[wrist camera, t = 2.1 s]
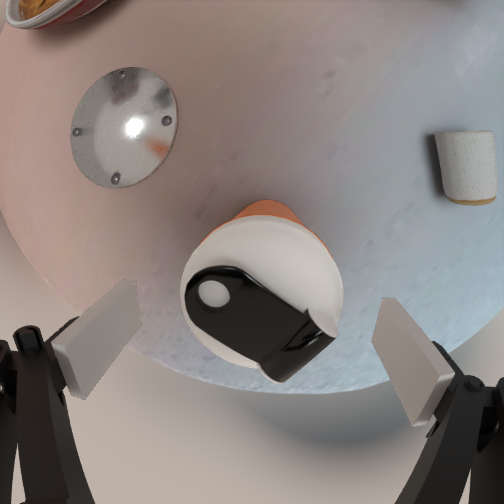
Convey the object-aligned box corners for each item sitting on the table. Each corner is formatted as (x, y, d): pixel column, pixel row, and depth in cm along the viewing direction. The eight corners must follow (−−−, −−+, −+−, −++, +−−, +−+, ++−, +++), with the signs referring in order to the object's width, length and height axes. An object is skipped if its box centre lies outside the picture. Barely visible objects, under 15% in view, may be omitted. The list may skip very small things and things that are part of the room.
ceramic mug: (434, 201, 29) (471, 212, 22) (422, 134, 27) (459, 128, 19) (489, 189, 28) (526, 197, 20) (480, 129, 25) (517, 127, 18)
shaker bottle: (253, 175, 30) (217, 189, 11) (323, 218, 31) (395, 299, 12) (213, 244, 32) (138, 347, 13) (280, 283, 33) (285, 419, 14)
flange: (79, 80, 27) (75, 79, 26) (183, 61, 26) (180, 59, 26) (73, 189, 32) (69, 190, 31) (175, 187, 31) (172, 187, 30)
